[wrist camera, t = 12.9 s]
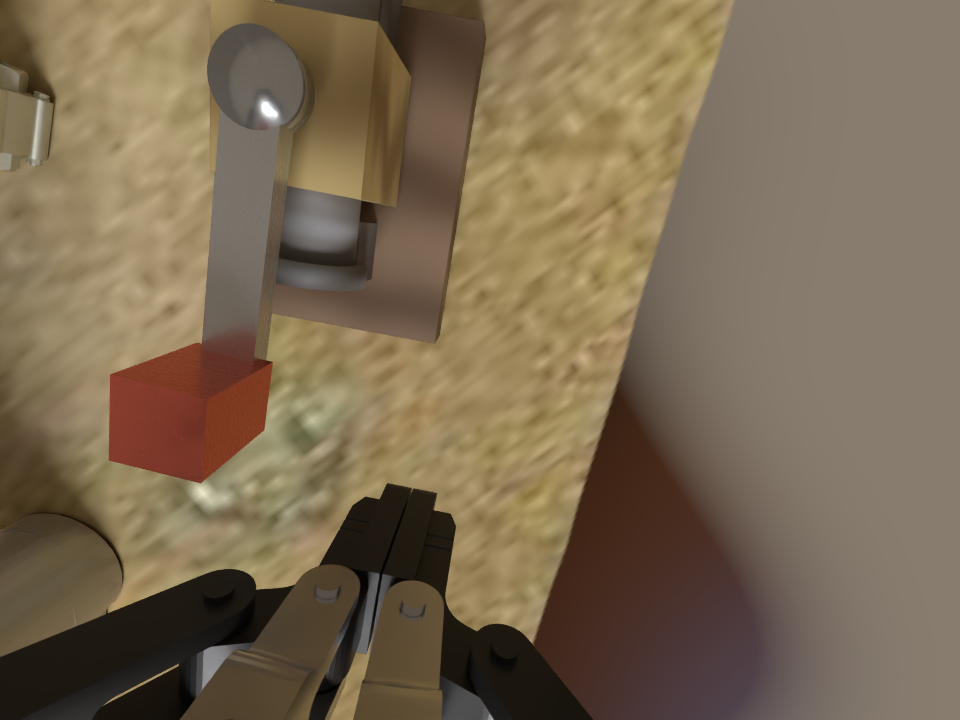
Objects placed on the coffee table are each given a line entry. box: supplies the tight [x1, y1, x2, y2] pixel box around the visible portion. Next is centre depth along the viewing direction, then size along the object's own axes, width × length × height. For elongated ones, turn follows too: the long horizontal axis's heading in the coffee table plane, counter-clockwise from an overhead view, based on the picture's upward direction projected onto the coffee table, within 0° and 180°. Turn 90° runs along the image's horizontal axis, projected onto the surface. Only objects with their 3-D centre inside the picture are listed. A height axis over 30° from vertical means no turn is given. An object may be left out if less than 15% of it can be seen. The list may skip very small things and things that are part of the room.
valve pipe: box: [210, 0, 486, 344], centre depth 21 cm, size 17×10×10 cm, turn 170°
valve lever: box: [109, 23, 315, 483], centre depth 15 cm, size 14×3×5 cm, turn 166°
